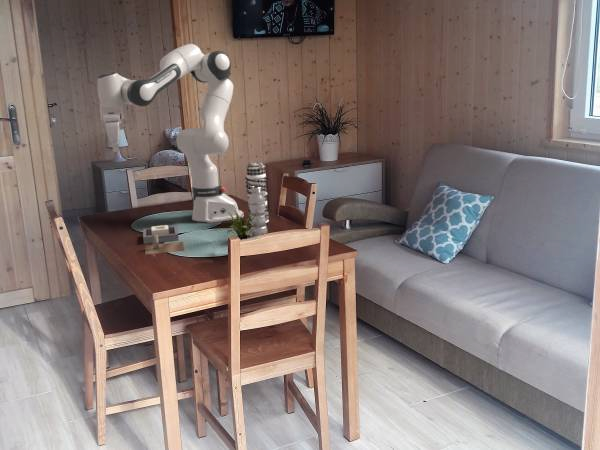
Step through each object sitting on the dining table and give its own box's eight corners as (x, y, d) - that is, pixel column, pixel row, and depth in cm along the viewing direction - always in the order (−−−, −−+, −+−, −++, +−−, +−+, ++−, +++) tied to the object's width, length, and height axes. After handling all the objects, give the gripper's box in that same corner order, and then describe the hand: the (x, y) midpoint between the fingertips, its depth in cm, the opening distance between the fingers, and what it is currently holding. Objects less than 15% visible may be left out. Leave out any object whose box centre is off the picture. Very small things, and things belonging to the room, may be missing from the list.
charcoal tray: (177, 234, 269) (176, 225, 268) (178, 242, 257) (178, 234, 256) (144, 237, 266) (143, 229, 265) (144, 246, 254) (143, 237, 253)
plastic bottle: (261, 241, 254) (258, 189, 249) (247, 239, 258) (243, 188, 253) (271, 236, 259) (268, 186, 254) (256, 234, 263) (253, 184, 258)
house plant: (211, 256, 237) (208, 212, 233) (235, 246, 249) (232, 203, 245) (244, 261, 230) (241, 215, 226) (267, 250, 241) (264, 206, 237)
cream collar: (168, 234, 265) (167, 225, 264) (169, 238, 259) (168, 229, 258) (152, 236, 264) (151, 226, 263) (152, 240, 258) (151, 230, 257)
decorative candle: (267, 224, 278) (263, 164, 271) (245, 224, 279) (241, 165, 273) (272, 219, 286) (268, 161, 280) (251, 218, 288) (247, 161, 282)
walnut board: (183, 244, 255) (181, 229, 253) (184, 253, 243) (183, 237, 242) (145, 248, 252) (143, 232, 250) (145, 257, 240) (143, 241, 239)
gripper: (105, 113, 272) (109, 147, 275) (102, 117, 252) (106, 154, 256) (121, 112, 273) (125, 146, 276) (119, 116, 254) (123, 152, 257)
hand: (116, 150), depth 266 cm, fingers open, 8 cm apart
